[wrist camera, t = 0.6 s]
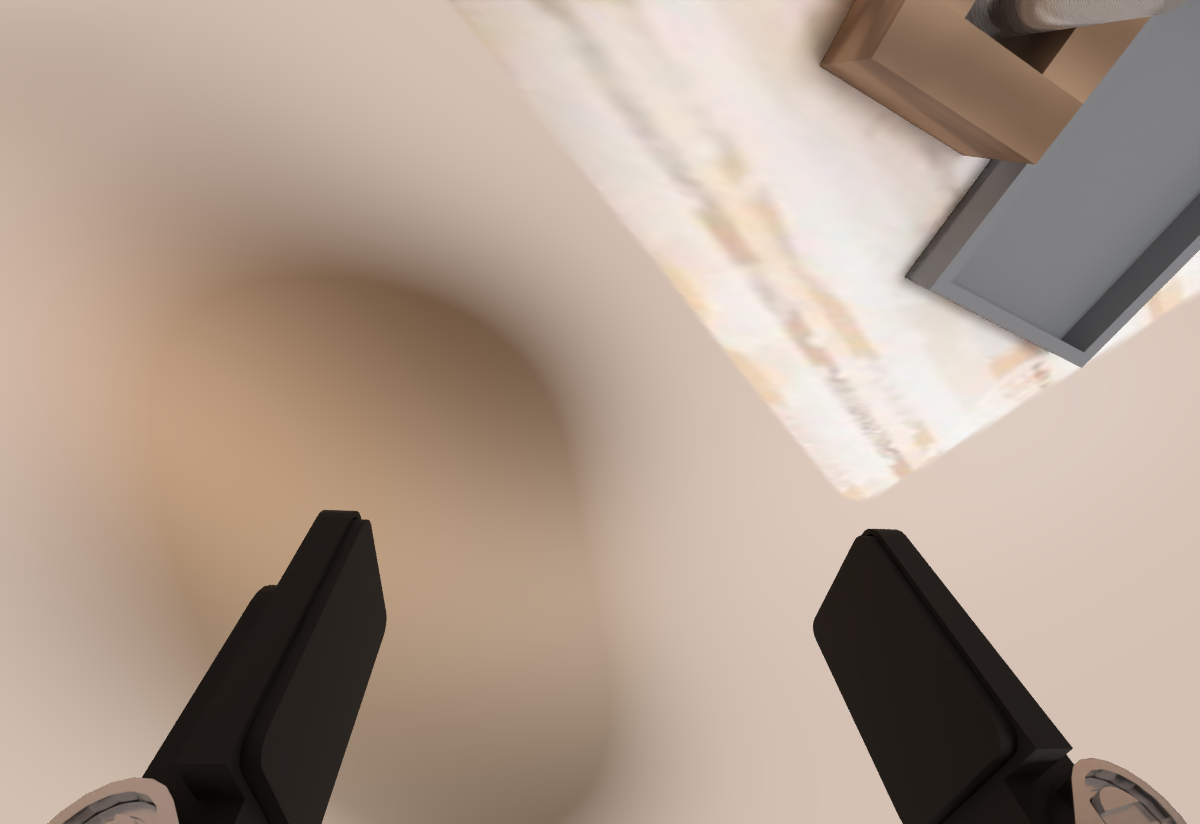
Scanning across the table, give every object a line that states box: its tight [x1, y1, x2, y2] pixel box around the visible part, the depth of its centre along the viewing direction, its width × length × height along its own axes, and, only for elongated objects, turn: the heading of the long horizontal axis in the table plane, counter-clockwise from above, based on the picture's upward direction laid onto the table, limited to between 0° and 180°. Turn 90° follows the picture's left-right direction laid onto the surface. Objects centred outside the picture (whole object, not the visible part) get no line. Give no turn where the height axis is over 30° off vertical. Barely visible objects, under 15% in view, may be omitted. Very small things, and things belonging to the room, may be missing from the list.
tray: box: [905, 0, 1200, 368], centre depth 34 cm, size 22×16×3 cm
